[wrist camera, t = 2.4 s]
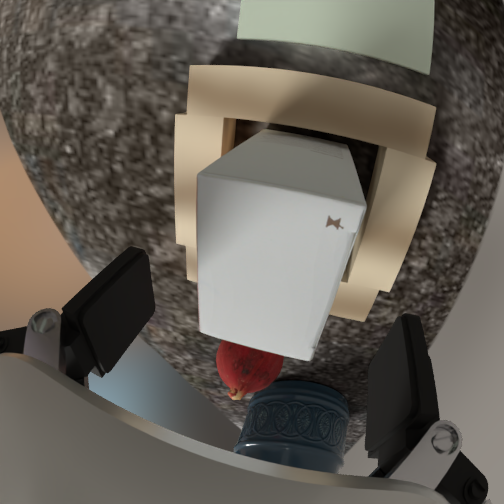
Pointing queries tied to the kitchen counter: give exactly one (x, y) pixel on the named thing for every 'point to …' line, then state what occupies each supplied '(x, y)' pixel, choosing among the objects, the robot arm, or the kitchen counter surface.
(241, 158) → the small box
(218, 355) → the red round piece
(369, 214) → the wooden square frame
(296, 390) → the canister
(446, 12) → the kitchen counter surface
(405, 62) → the pad
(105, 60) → the kitchen counter surface
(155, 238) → the kitchen counter surface
